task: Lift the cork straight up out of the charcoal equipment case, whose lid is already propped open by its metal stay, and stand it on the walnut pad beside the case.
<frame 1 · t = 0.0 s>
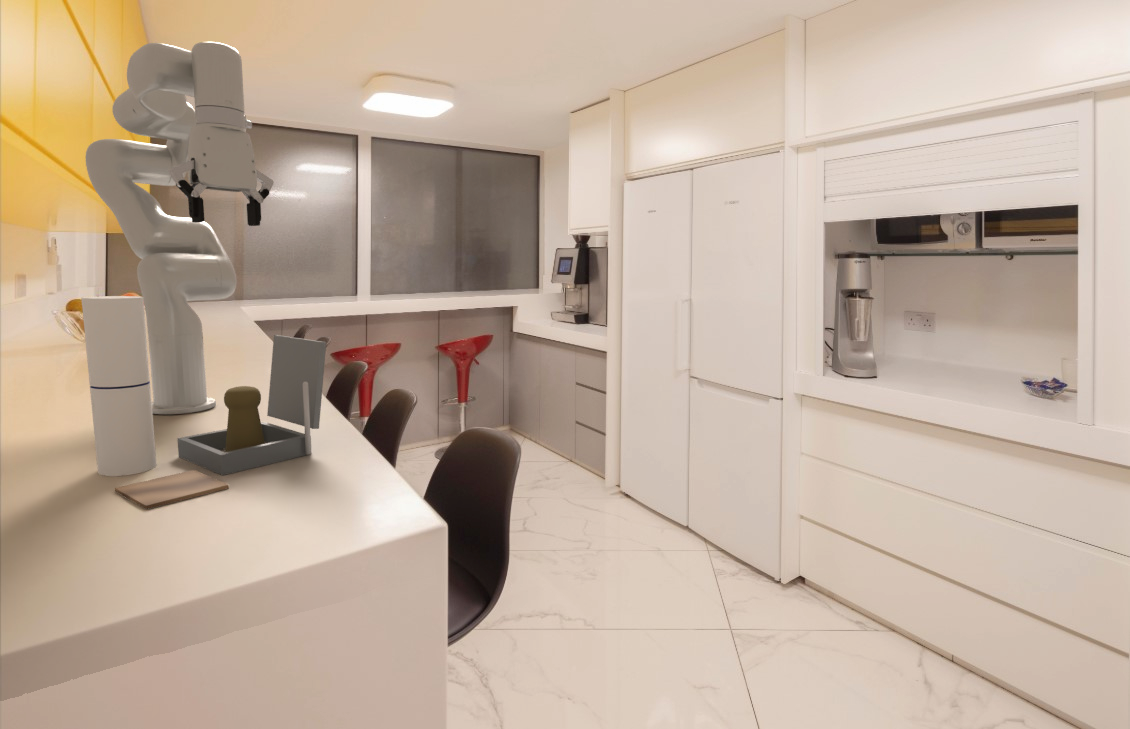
hand: (227, 223, 114), 37 cm above the counter, tool pointing down, fingers open, 9 cm apart
walnut pad: (172, 489, 86), on the counter
cylindrical container: (127, 469, 95), on the counter
case lid: (295, 380, 107), point 11 cm above the counter, hinge at 98.0°
cork: (246, 456, 102), resting in equipment case
equipment case: (246, 455, 102), on the counter
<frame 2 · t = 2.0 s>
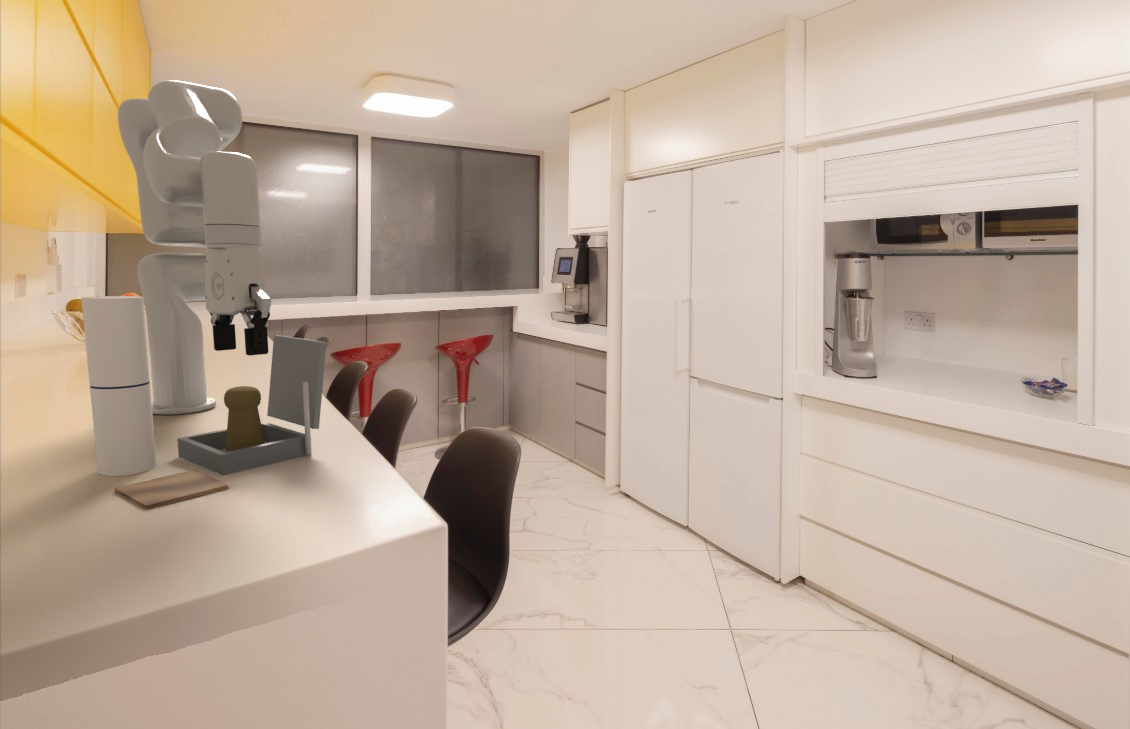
hand: (240, 352, 99), 17 cm above the counter, tool pointing down, fingers open, 9 cm apart
nothing on the counter moved.
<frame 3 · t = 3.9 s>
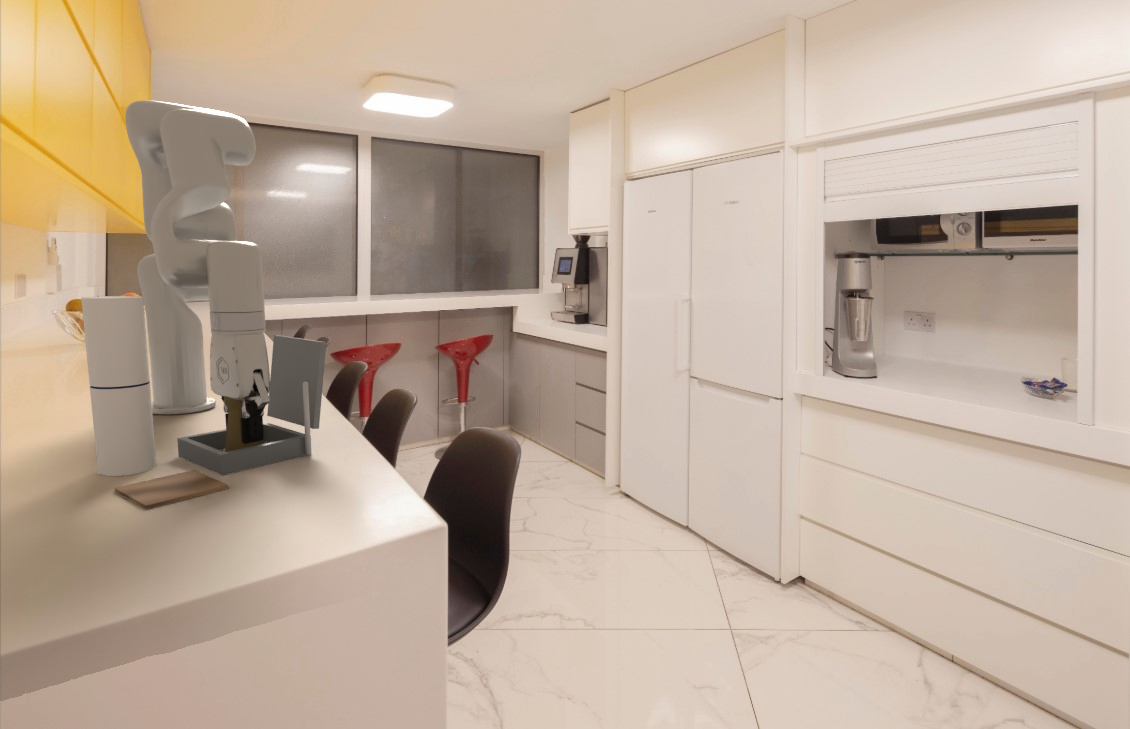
hand: (245, 438, 102), 3 cm above the counter, tool pointing down, fingers closed on cork, 4 cm apart
cork: (246, 456, 102), resting in equipment case, touching gripper
everything else where it was.
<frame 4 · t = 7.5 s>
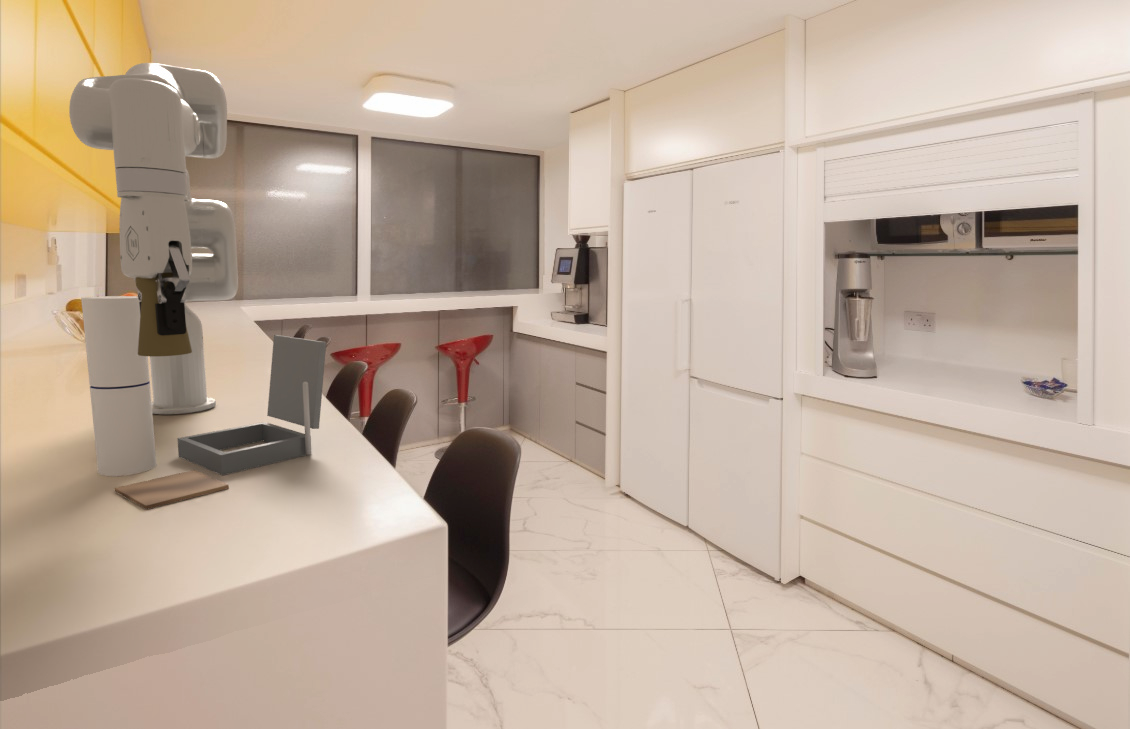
hand: (163, 331, 83), 21 cm above the counter, tool pointing down, fingers closed on cork, 4 cm apart
cork: (165, 354, 84), point 18 cm above the counter, touching gripper
everything else where it was.
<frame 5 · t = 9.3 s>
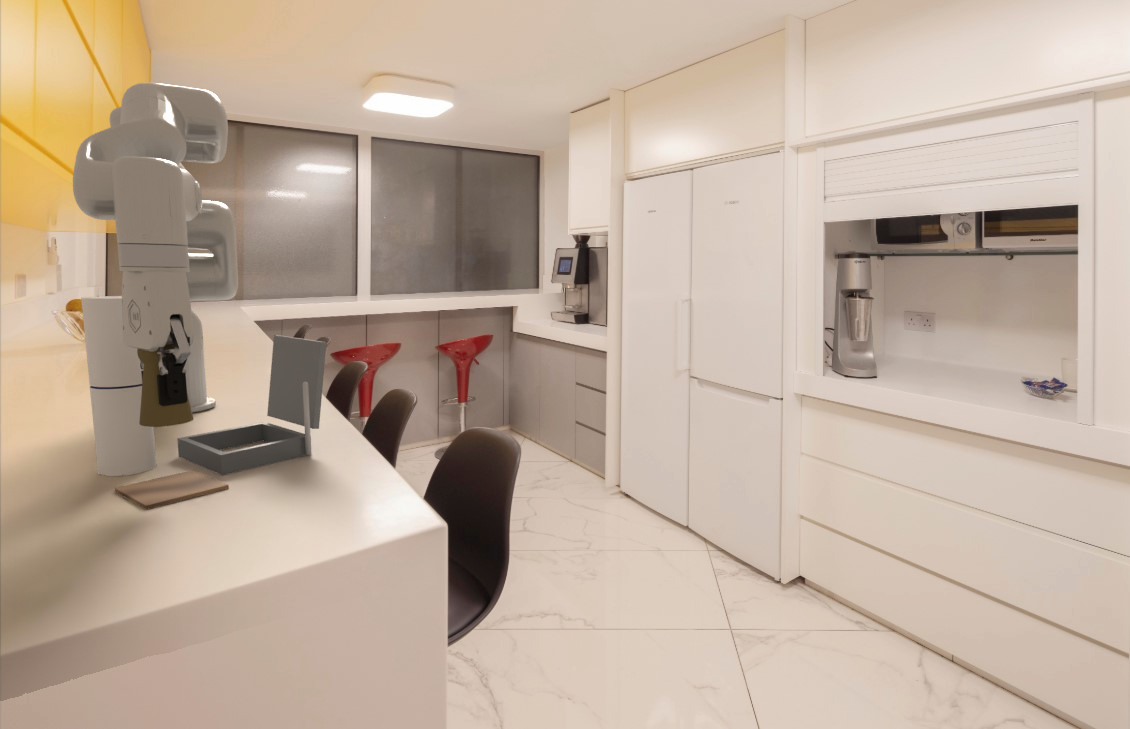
hand: (165, 400, 84), 12 cm above the counter, tool pointing down, fingers closed on cork, 4 cm apart
cork: (166, 422, 85), point 9 cm above the counter, touching gripper
everything else where it was.
when the fingers open (5 cm above the counter, at t = 11.0 s): cork drops 1 cm, resting on walnut pad.
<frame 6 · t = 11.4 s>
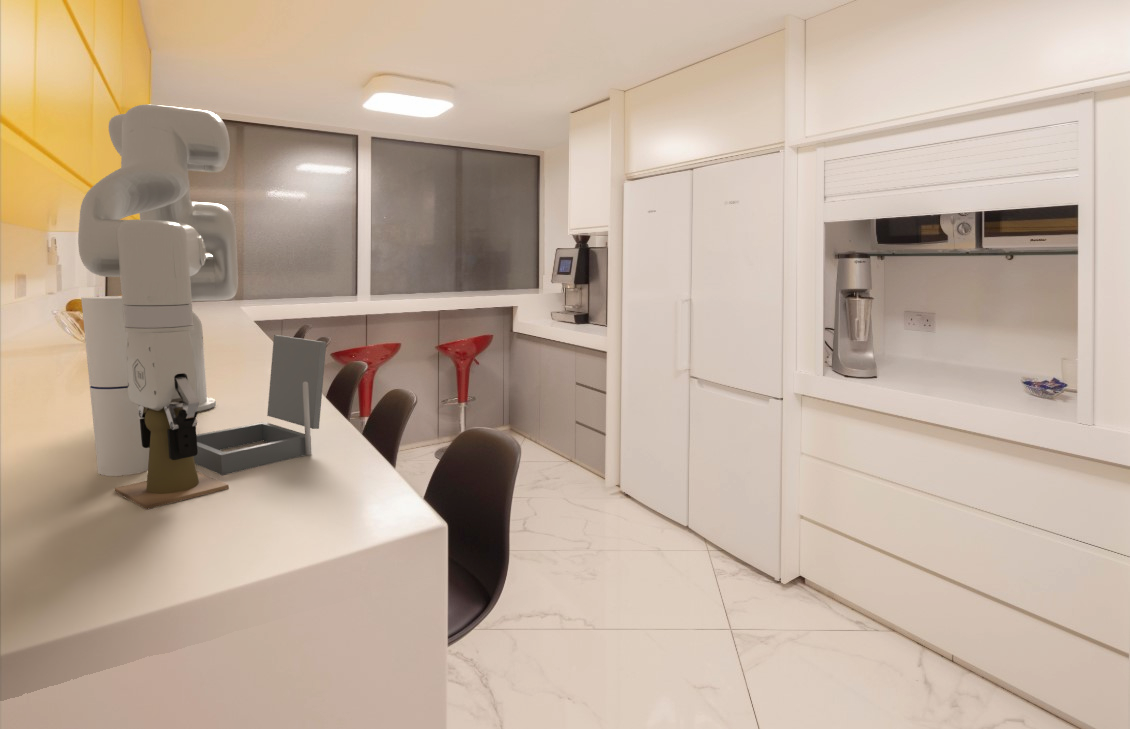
hand: (169, 450, 85), 5 cm above the counter, tool pointing down, fingers open, 7 cm apart
cork: (173, 487, 86), resting on walnut pad
everything else where it was.
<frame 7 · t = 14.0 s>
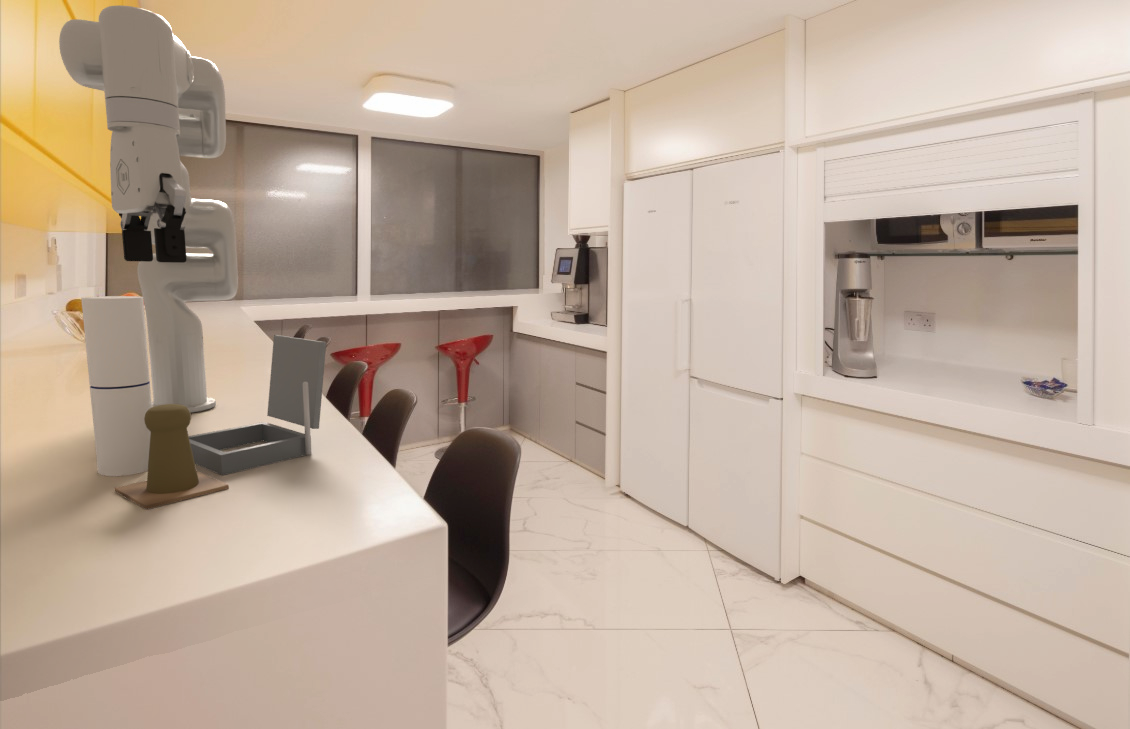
hand: (154, 261, 82), 30 cm above the counter, tool pointing down, fingers open, 9 cm apart
nothing on the counter moved.
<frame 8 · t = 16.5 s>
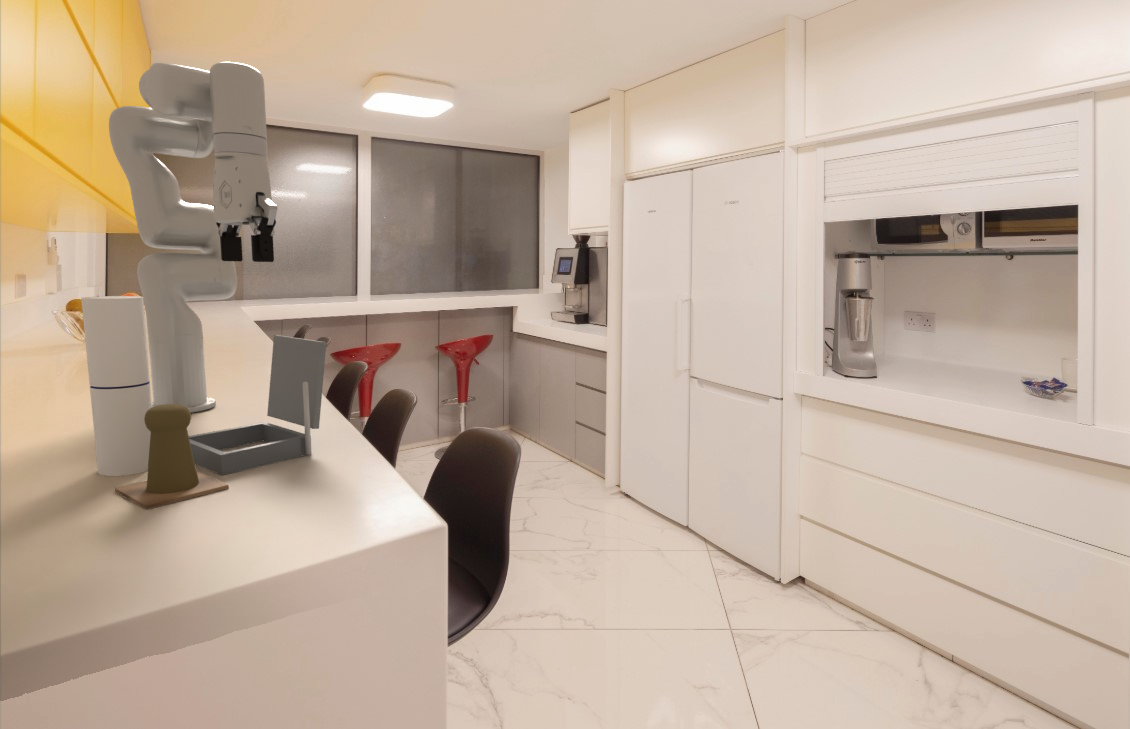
hand: (247, 261, 103), 30 cm above the counter, tool pointing down, fingers open, 9 cm apart
nothing on the counter moved.
at the end: cork inside the target area on the walnut pad (0.2 cm from its centre), point 0.3 cm above the walnut pad's base; cork tilted 0°; case lid at +98° (first picture: +98°) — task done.
